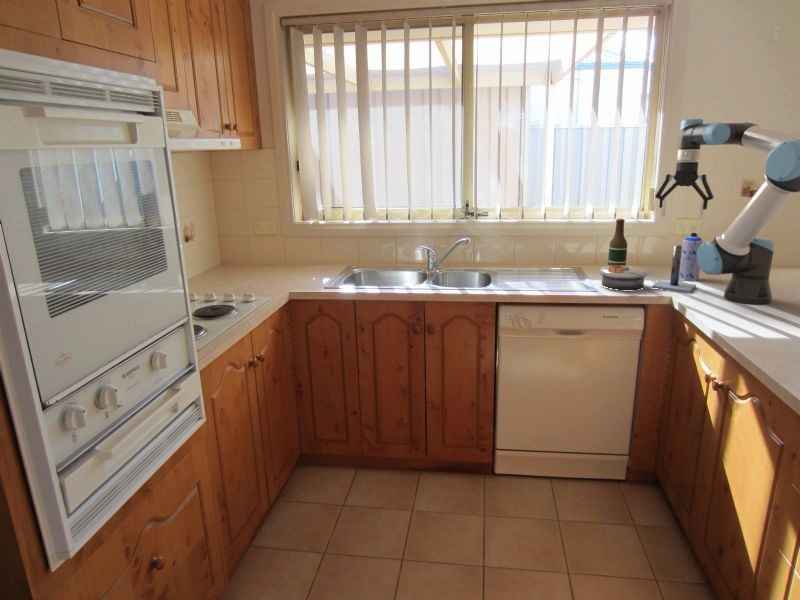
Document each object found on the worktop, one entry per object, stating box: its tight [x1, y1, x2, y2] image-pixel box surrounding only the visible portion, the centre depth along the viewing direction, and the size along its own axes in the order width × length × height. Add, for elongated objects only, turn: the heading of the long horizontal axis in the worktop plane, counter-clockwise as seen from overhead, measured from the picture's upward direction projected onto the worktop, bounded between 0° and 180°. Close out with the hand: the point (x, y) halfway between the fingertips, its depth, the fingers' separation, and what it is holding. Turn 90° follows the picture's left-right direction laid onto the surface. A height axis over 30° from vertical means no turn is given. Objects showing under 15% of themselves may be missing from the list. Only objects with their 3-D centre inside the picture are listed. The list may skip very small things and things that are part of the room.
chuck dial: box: [599, 265, 649, 279], centre depth 229 cm, size 18×18×4 cm
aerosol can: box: [679, 232, 704, 281], centre depth 240 cm, size 8×8×20 cm
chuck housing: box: [601, 275, 645, 290], centre depth 230 cm, size 16×16×5 cm
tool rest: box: [651, 280, 697, 294], centre depth 227 cm, size 14×12×1 cm
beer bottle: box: [607, 218, 628, 266], centre depth 258 cm, size 8×8×24 cm
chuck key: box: [669, 244, 683, 286], centre depth 225 cm, size 3×3×16 cm
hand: (681, 217), depth 220 cm, fingers open, 13 cm apart
